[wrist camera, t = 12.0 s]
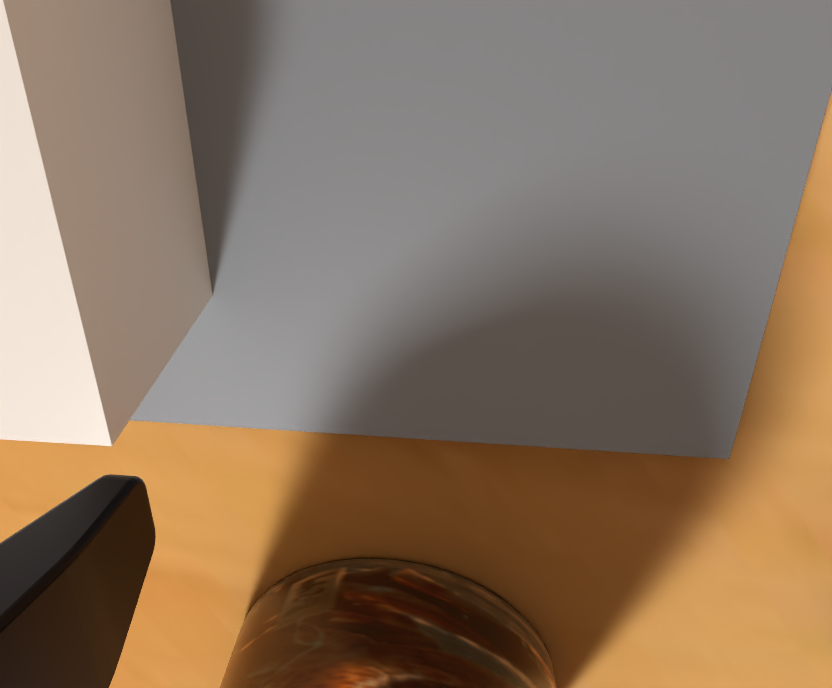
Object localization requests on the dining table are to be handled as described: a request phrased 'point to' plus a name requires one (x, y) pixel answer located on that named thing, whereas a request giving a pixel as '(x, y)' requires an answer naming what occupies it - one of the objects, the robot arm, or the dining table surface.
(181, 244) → the housing
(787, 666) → the dining table surface
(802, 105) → the board
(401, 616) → the jar
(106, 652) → the robot arm
